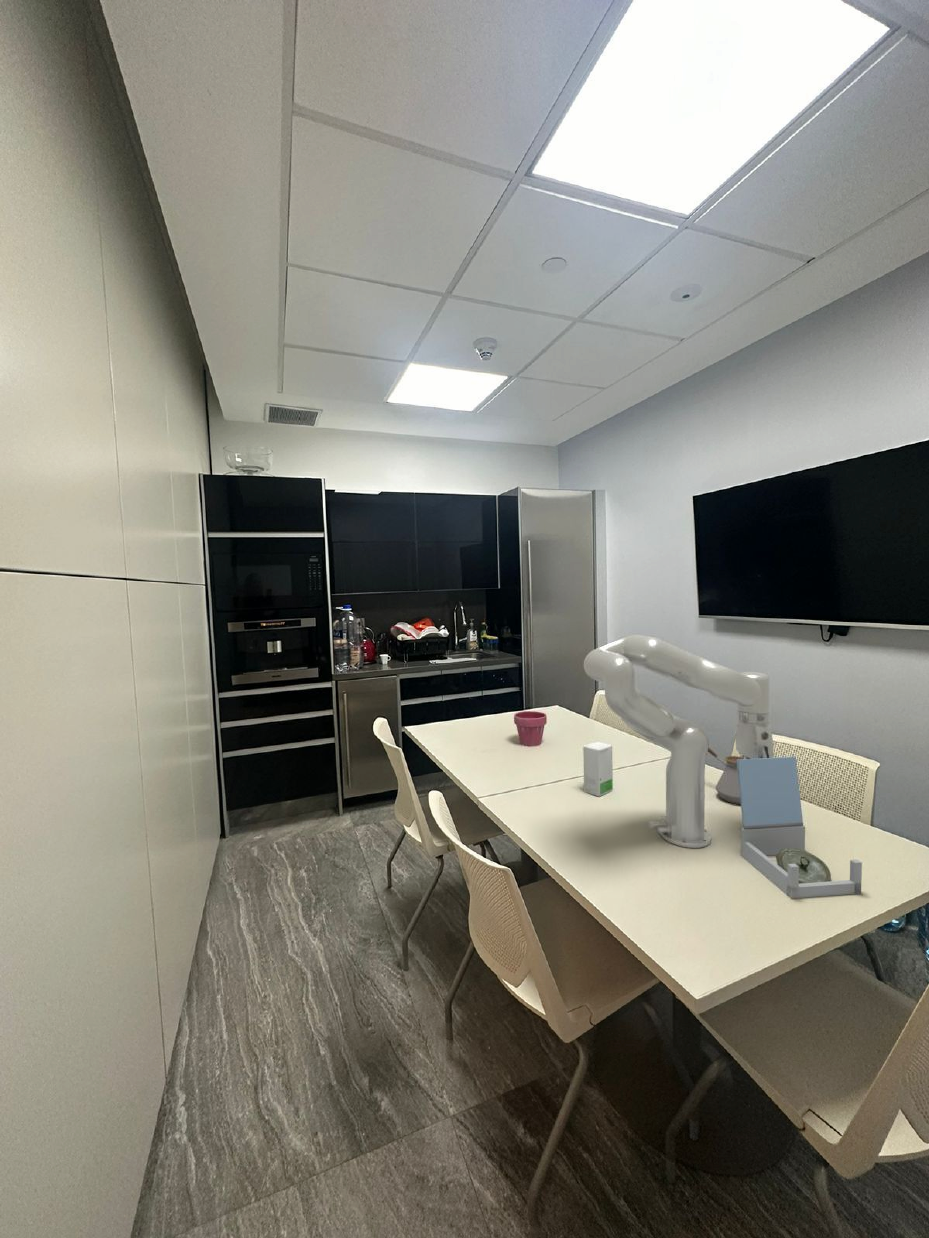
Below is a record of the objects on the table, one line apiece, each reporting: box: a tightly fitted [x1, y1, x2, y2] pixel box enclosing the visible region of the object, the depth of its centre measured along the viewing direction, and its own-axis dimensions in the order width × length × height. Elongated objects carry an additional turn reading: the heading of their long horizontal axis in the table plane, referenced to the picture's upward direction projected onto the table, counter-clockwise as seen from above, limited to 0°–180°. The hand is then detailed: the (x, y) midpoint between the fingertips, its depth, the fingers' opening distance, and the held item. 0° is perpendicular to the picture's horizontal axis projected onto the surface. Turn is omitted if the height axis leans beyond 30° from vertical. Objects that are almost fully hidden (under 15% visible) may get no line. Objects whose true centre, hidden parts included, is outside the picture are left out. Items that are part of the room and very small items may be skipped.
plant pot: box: [513, 710, 548, 747], centre depth 215 cm, size 14×14×13 cm
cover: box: [737, 756, 804, 829], centre depth 123 cm, size 15×17×1 cm
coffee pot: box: [708, 747, 743, 805], centre depth 159 cm, size 21×12×15 cm, turn 23°
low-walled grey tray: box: [740, 824, 863, 899], centre depth 115 cm, size 16×17×7 cm
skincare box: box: [582, 741, 614, 798], centre depth 163 cm, size 8×7×16 cm
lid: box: [775, 848, 832, 884], centre depth 114 cm, size 11×10×5 cm
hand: (752, 781), depth 136 cm, fingers closed
